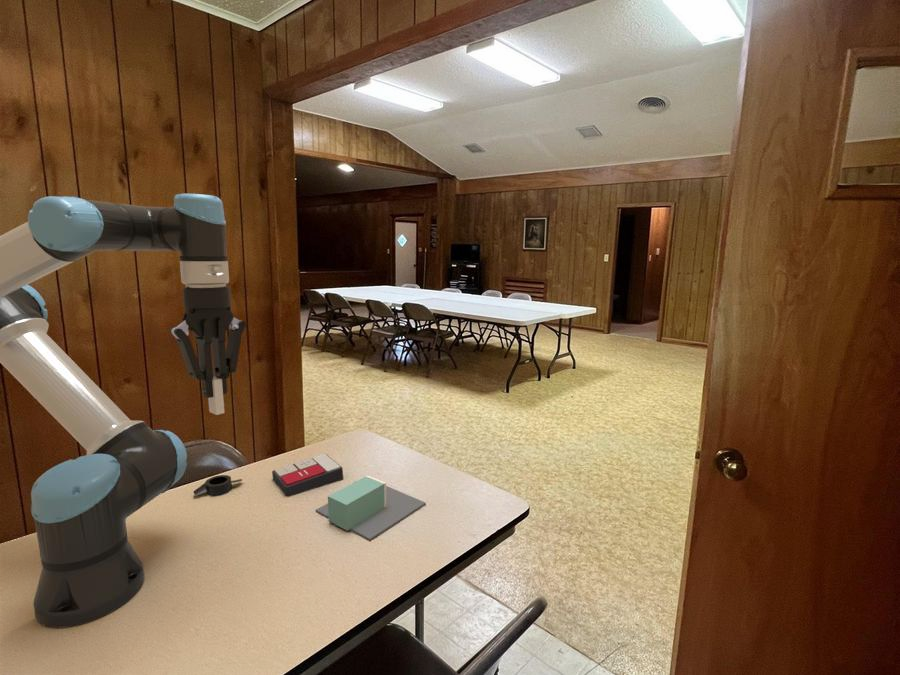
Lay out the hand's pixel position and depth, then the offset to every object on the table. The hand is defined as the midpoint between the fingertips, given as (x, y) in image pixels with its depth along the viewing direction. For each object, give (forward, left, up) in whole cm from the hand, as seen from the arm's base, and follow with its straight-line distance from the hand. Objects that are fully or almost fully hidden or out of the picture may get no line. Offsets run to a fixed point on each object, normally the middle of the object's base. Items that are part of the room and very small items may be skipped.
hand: (216, 412), depth 87 cm
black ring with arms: (-26, +11, -30) cm, 41 cm away
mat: (+10, +29, -29) cm, 42 cm away
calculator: (-13, +28, -30) cm, 43 cm away
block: (+10, +19, -26) cm, 34 cm away
